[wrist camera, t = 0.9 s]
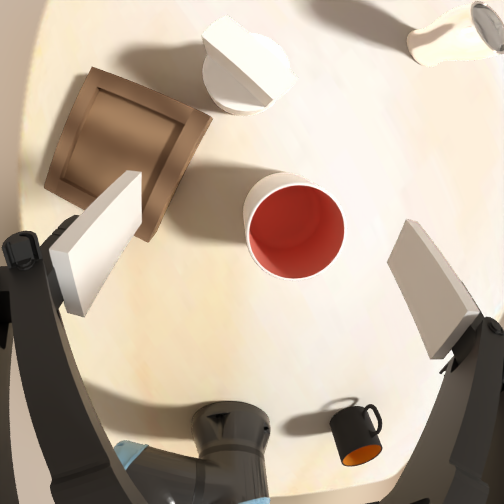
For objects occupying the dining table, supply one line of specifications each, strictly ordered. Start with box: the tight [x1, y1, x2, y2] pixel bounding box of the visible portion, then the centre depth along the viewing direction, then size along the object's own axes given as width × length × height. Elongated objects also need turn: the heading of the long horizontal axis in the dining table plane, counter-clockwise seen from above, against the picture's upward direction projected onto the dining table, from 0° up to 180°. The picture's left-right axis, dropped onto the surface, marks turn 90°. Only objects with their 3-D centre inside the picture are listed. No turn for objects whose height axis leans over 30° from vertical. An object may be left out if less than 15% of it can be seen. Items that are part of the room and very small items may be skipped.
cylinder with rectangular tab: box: [202, 15, 298, 116], centre depth 27 cm, size 9×9×12 cm
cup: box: [243, 172, 347, 281], centre depth 34 cm, size 10×10×10 cm
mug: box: [330, 404, 382, 466], centre depth 49 cm, size 8×12×10 cm
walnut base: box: [44, 67, 213, 242], centre depth 32 cm, size 16×16×4 cm
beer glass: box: [407, 1, 504, 67], centre depth 24 cm, size 7×7×15 cm
